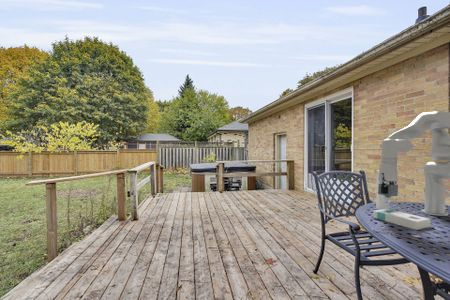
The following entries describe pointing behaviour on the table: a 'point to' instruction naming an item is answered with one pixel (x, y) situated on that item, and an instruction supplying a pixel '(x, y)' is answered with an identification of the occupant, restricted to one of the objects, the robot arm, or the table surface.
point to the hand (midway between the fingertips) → (387, 193)
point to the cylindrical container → (380, 197)
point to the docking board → (402, 219)
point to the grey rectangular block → (389, 192)
